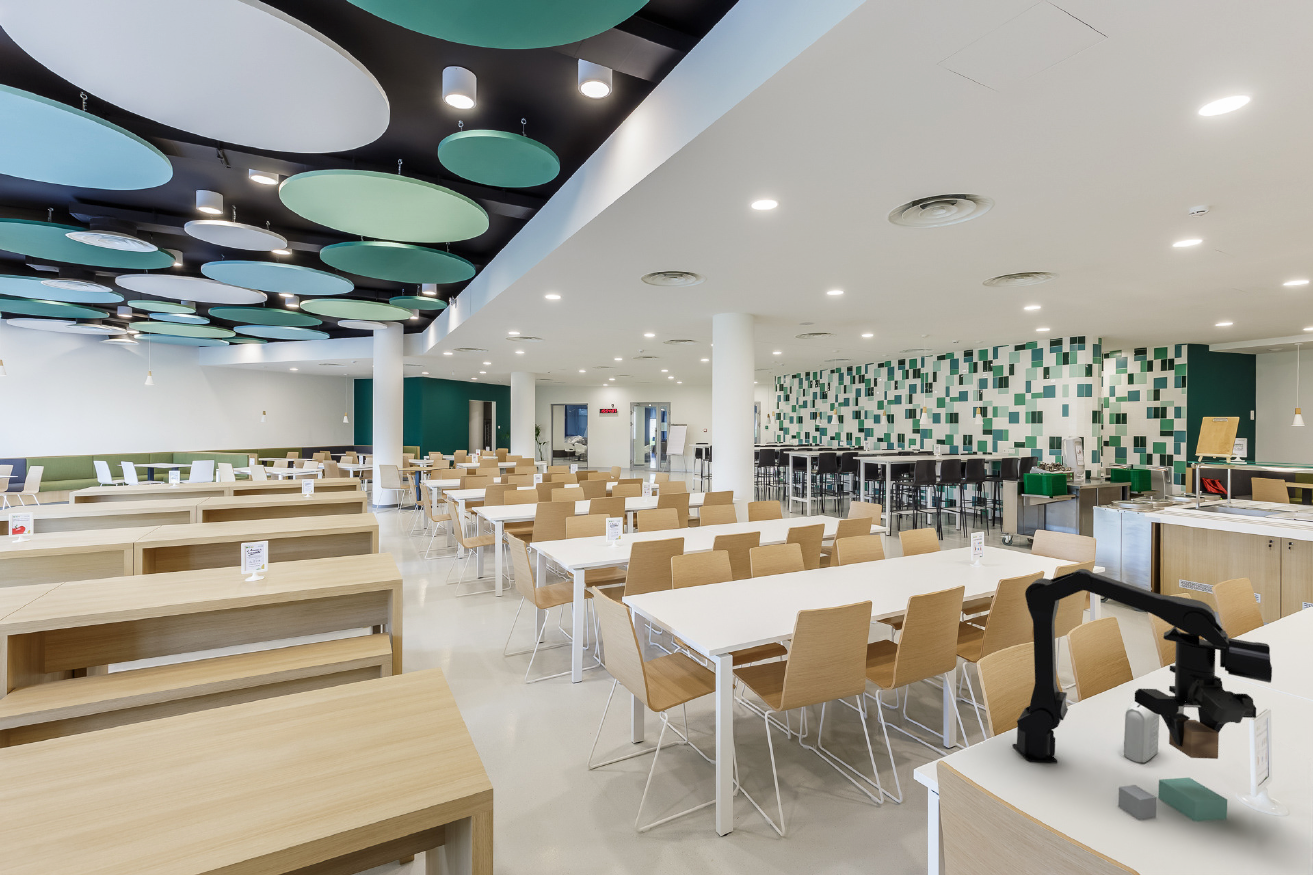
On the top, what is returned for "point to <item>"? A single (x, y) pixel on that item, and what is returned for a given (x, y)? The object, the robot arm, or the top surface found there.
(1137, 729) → the photo printer
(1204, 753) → the walnut cube
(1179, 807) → the teal base block
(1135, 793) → the slate block
